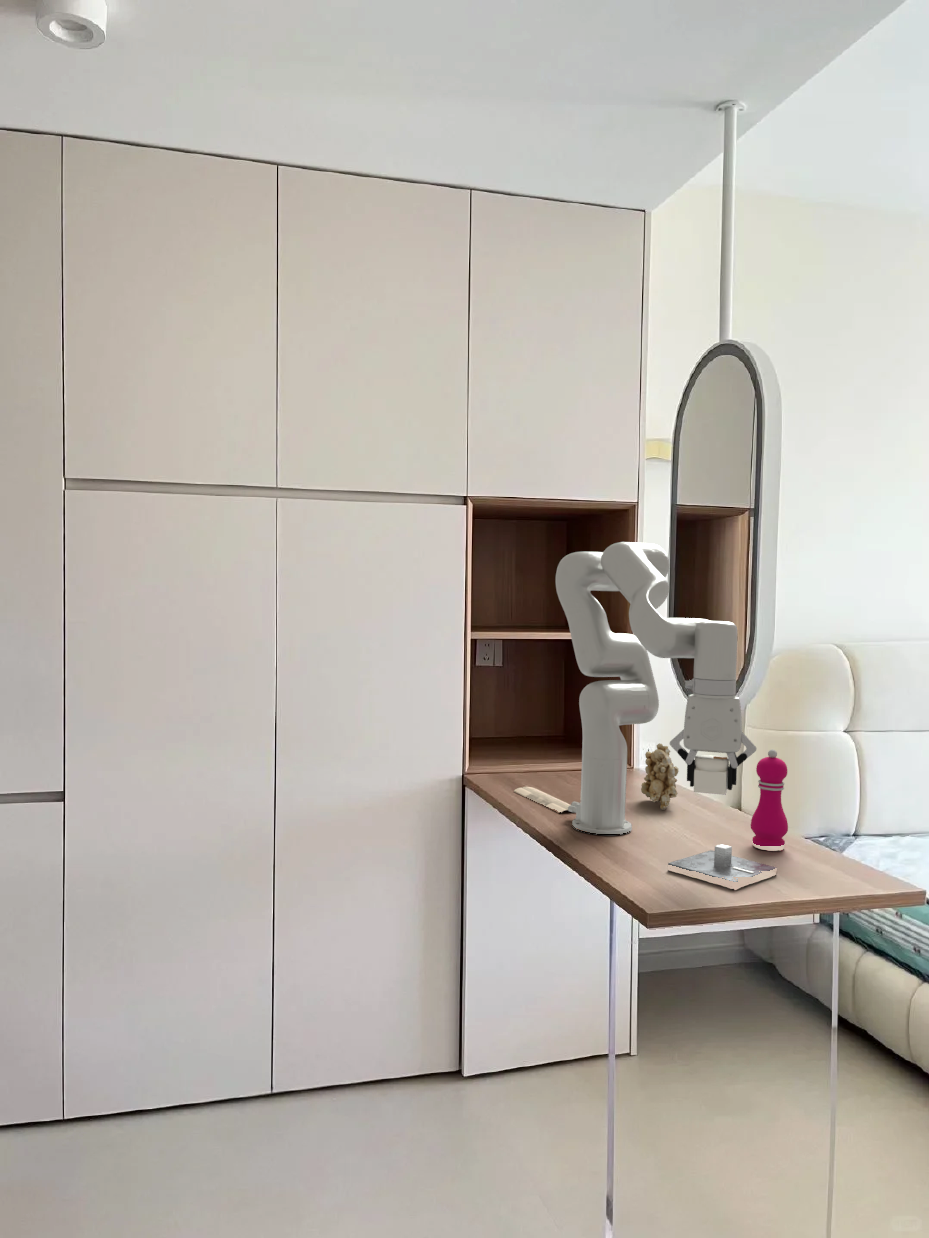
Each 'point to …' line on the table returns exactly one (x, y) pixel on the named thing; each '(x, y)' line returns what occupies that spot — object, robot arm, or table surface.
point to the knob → (711, 774)
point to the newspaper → (542, 798)
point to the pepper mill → (770, 802)
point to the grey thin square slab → (721, 864)
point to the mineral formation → (660, 776)
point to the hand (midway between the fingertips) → (711, 786)
